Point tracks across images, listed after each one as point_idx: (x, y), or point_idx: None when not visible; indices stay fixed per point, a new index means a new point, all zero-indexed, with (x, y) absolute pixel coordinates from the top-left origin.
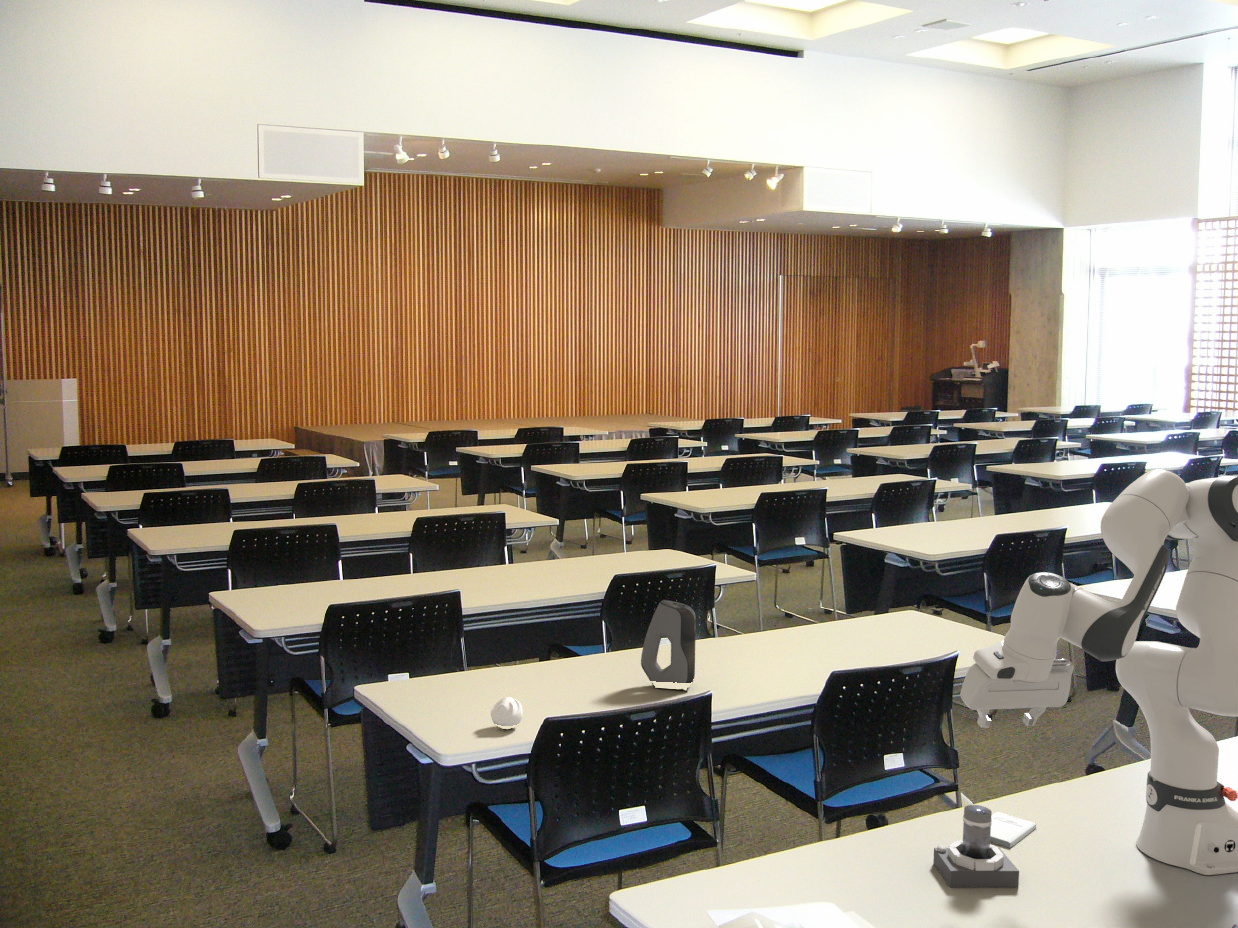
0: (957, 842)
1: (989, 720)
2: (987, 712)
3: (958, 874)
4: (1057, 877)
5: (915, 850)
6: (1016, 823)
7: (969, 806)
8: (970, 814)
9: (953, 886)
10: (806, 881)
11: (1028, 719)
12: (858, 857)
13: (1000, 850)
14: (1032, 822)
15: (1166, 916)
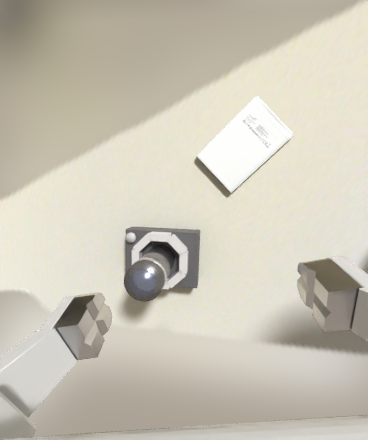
0: (145, 239)
1: (88, 357)
2: (28, 430)
3: None
4: (249, 263)
5: (123, 196)
6: (266, 136)
7: (135, 269)
8: (128, 292)
9: None
10: (13, 254)
11: (317, 316)
12: (64, 210)
13: (197, 240)
14: (290, 132)
15: (317, 345)
